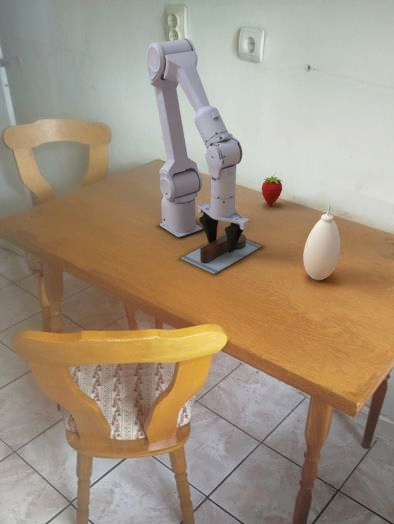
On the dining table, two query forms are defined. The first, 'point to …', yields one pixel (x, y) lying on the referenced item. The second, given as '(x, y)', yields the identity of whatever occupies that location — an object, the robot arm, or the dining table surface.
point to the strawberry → (271, 189)
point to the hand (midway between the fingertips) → (221, 246)
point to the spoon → (219, 248)
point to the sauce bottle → (322, 248)
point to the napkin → (221, 258)
